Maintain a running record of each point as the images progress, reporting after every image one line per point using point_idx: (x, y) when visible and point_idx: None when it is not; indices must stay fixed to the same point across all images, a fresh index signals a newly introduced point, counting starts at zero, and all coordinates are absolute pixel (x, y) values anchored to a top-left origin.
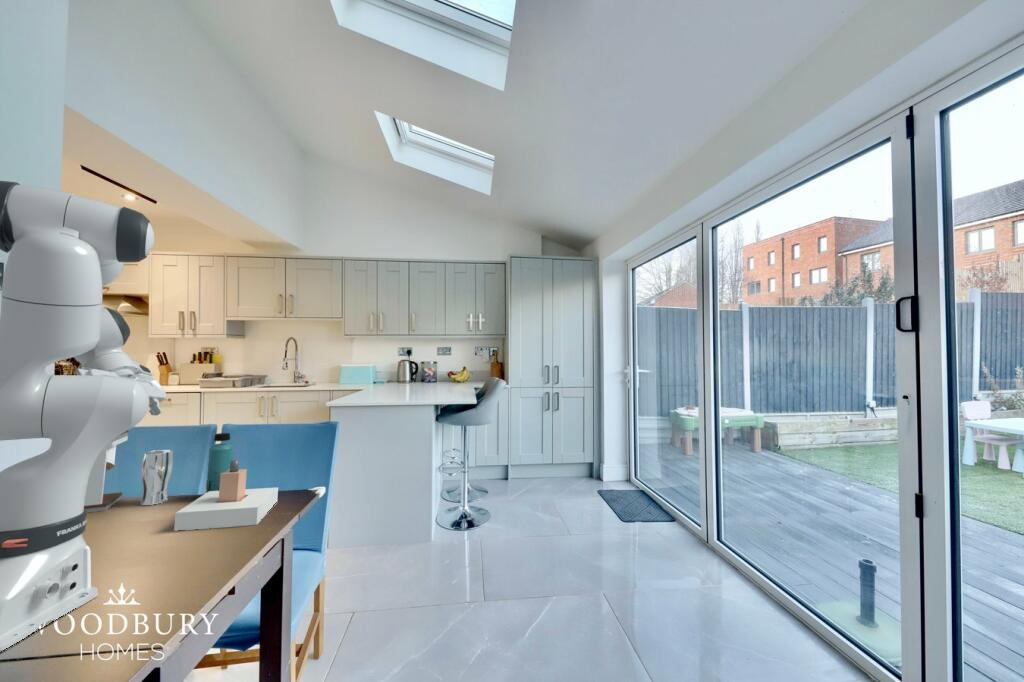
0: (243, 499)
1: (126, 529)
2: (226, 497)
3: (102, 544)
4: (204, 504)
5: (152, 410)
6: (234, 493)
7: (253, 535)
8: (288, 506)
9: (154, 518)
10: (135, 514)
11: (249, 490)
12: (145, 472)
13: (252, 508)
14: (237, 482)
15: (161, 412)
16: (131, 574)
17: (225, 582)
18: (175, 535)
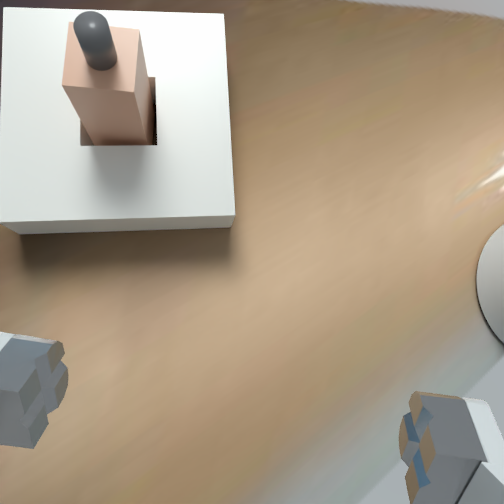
0: None
1: (189, 365)
2: (146, 111)
3: (290, 353)
4: (165, 169)
5: (36, 404)
6: (147, 82)
7: (290, 33)
8: (74, 2)
9: (103, 343)
10: (45, 431)
11: (23, 88)
12: None
13: (224, 28)
14: (142, 54)
15: (3, 334)
16: (452, 188)
17: (496, 18)
18: (259, 209)
